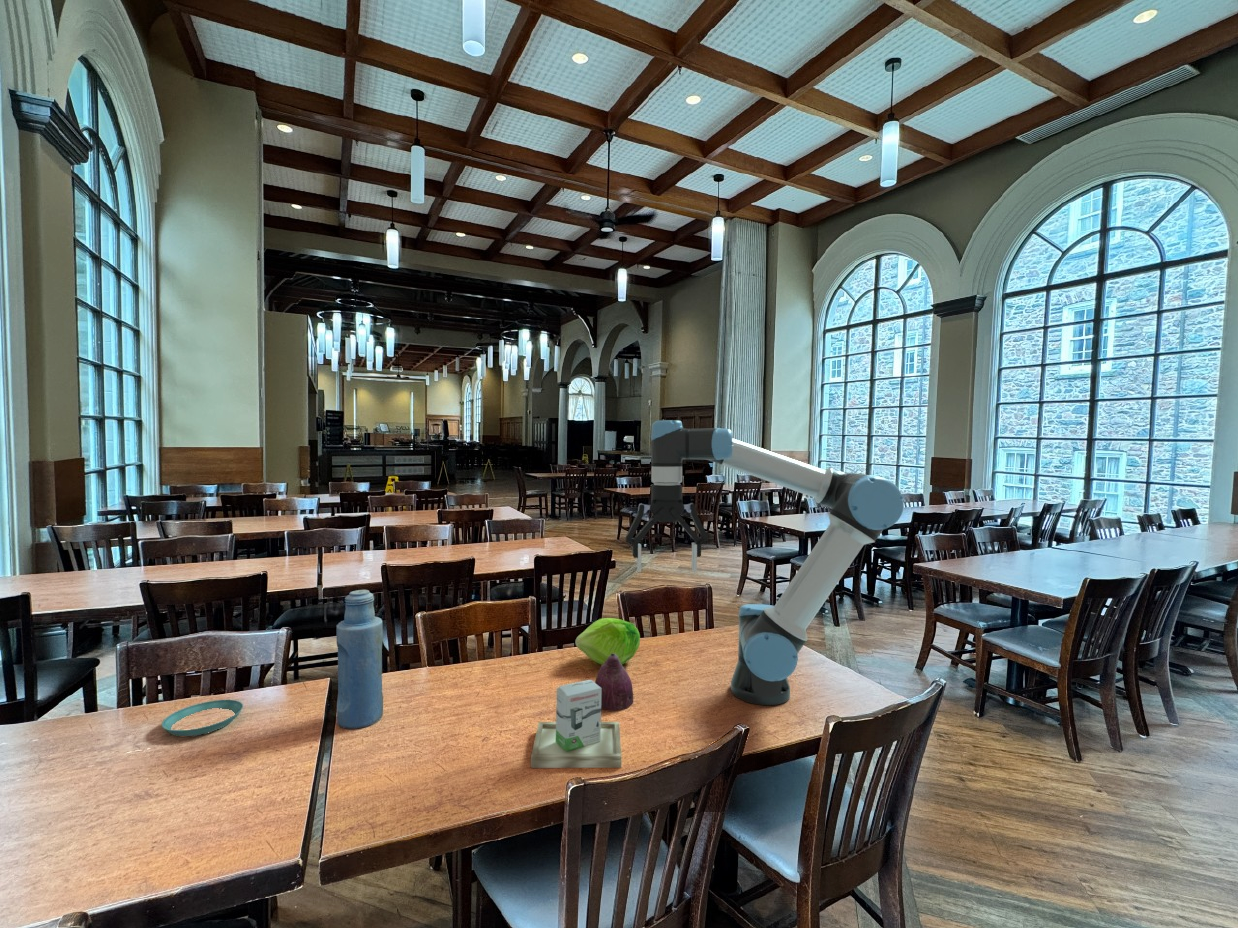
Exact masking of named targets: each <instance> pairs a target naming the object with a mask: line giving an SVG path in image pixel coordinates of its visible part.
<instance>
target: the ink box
mask: <svg viewBox="0 0 1238 928" xmlns="http://www.w3.org/2000/svg"><path fill="white" fill-rule="evenodd" d="M601 689H602V688H601V687H599V686H598V685H597V684H596V683H595V681H593V680H592V679H587V680H582V681H576V682H572V683H566V684H562V685H559V686H557V688H556V713H555V722H556V743H557V744H558V745H559V746H560V747H561V748H562V749H564V750H565V751H566V752H567V751H570V750H573V749H577V748H580V747H583V746H587V745H590V744H593V743H597V742H600V741H601V722H602V709H601Z"/></svg>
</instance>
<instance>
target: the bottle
mask: <svg viewBox="0 0 1238 928" xmlns="http://www.w3.org/2000/svg"><path fill="white" fill-rule="evenodd" d="M374 601H375V597H374V593H371V592H370V590H368V589H358V590H357V589H356V590H353V591H350V592H349V594H348V595H346V596H345V597H344V602H345V610H344V616H343V617H344V618H343V619H344V620H341V621H340V622H338V624H336V647H337V687H338V688H337V690H338V691H337V692H338V693H337V701H336V721H337V722H336V723H337V725H338V726H339V727H340V728H344V729H348V730H350V729H351V730H352V729H353V730H355V729H356V730H357V729H361V728H366V727H369V726H372V725H373V724H375V723H377V722H378V721H380V720H381V719H382V718H383V715H384V695H383V678H382V677H383V655H382V653H383V651H382V649H383V638H384V637H383V636H384V635H383V634H384V633H383V632H384V631H383V627H384V626H383V619H382V618H380V617H378V616H375V615H376V613H375V612H376V611H375V607H374Z"/></svg>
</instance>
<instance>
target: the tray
mask: <svg viewBox="0 0 1238 928" xmlns="http://www.w3.org/2000/svg"><path fill="white" fill-rule="evenodd" d="M537 724H538V725H537V728H536V733H535V737H534V742H533V746H532V752H531V755H530V769H579V768H580V769H581V768H582V769H591V768H593V769H594V768H595V769H596V768H597V769H599V768H600V769H602V768H605V769H606V768H607V769H608V768H609V769H611V768H613V769H614V768H615V769H616V768H622V747H621V744H622V743H621V733H620V731H621V730H620V721H601V741H600V742H597V743H593V744H590V745H587V746H583V747H580V748H577V749H573V750H570V751H567V752H566V751H565V750H564V749H562V748H561V747H560V746H559V745H558V744H557V743H556V721H538V723H537Z"/></svg>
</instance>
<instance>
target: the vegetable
mask: <svg viewBox="0 0 1238 928" xmlns="http://www.w3.org/2000/svg"><path fill="white" fill-rule="evenodd" d="M594 682H595V683H596V684H597V685H598V686H599V687H601V688H602V689H601V710H602V711H609V712H618V711H622V710H626V709H628V708H629V707H630V706H632V705H633V703H634V689H633V683H632V680H631V677H630V675H629V673H628V672H627V670H626V669H625V667H624V666H623V664H621V663H620V661H619V659H618V657H617V656H616V655H615V654H614V653H612V654H611V655H610V656H609V657H608V658H607V660H606V661H605V662H604V663H603V665H601V666H600V668H599V669H598V671H597V675H596V678H595V680H594Z"/></svg>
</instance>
